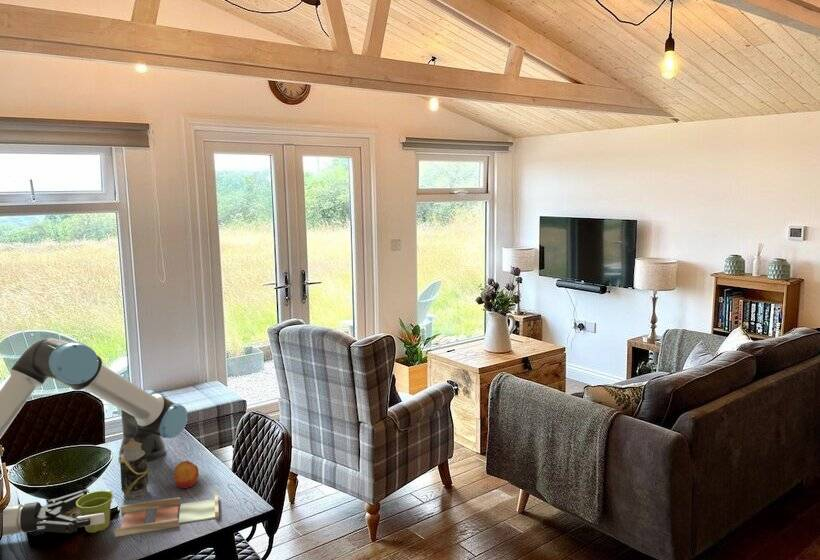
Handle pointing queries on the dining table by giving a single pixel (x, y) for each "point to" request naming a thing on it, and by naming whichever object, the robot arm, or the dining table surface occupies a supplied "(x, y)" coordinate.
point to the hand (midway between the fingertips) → (108, 505)
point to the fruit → (185, 474)
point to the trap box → (165, 514)
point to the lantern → (133, 469)
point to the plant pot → (96, 508)
